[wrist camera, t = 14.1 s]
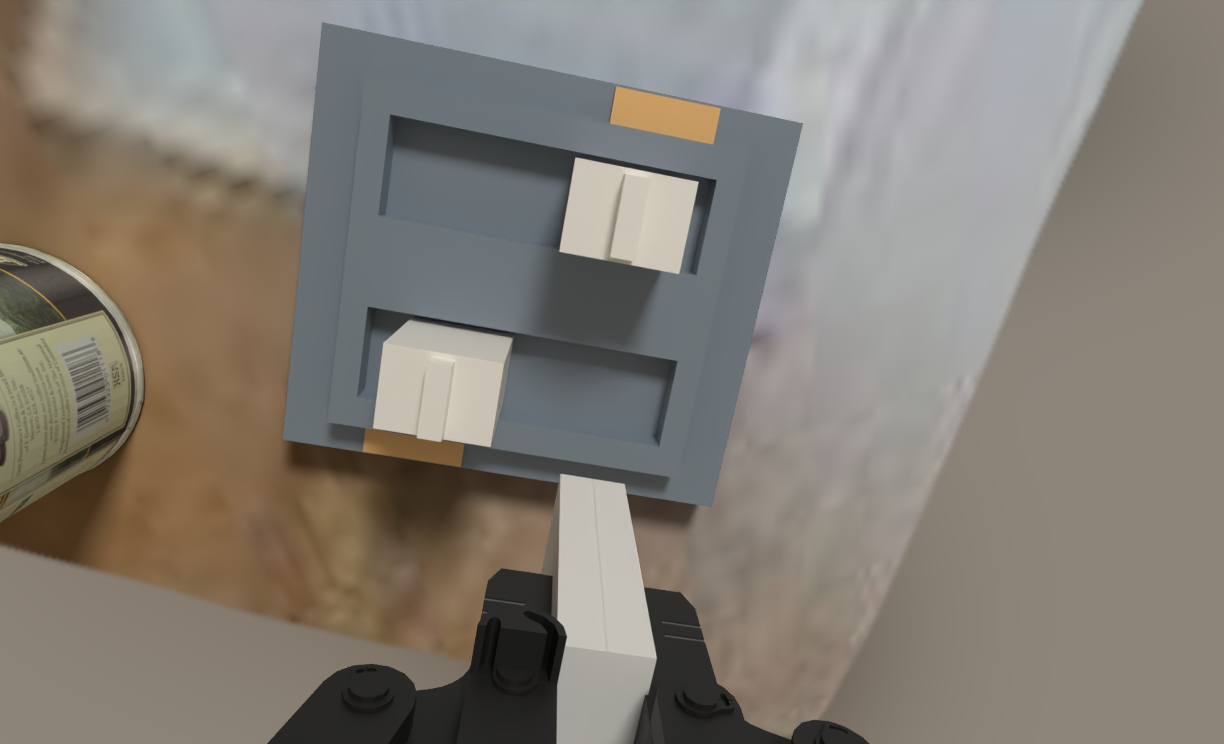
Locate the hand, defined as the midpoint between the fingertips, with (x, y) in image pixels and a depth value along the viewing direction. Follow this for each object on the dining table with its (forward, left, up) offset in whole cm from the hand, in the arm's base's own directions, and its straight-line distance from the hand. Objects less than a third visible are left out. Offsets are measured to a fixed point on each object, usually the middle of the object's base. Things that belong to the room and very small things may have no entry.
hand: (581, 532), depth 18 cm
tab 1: (-5, 0, -14) cm, 15 cm away
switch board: (-2, +3, -16) cm, 16 cm away
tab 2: (0, +7, -14) cm, 16 cm away
